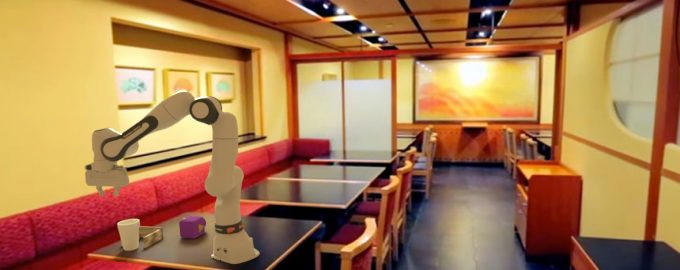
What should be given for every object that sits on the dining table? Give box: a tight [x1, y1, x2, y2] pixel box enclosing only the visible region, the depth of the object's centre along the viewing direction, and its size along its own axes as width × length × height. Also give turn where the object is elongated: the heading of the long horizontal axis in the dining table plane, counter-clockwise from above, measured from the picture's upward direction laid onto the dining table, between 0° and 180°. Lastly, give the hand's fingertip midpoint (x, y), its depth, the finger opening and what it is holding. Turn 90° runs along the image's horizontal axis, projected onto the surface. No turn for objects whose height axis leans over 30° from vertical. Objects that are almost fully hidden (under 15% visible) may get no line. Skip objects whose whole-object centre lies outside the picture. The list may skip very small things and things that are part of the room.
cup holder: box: [119, 225, 164, 249], centre depth 208 cm, size 13×14×6 cm
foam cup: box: [117, 218, 141, 252], centre depth 199 cm, size 10×9×13 cm
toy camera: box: [178, 215, 207, 240], centre depth 215 cm, size 11×14×10 cm
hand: (109, 195), depth 184 cm, fingers open, 6 cm apart
